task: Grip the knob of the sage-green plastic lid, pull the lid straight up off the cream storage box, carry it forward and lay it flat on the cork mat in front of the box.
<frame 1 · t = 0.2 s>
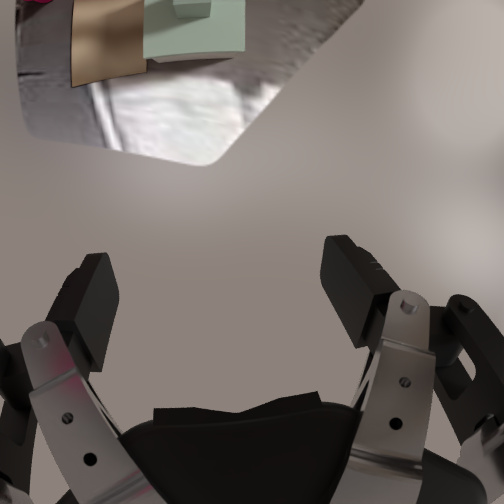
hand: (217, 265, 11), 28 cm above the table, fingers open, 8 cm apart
cork mat: (108, 32, 25), on the table
storage box: (195, 23, 27), on the table
lid: (194, 10, 22), point 6 cm above the table, touching storage box
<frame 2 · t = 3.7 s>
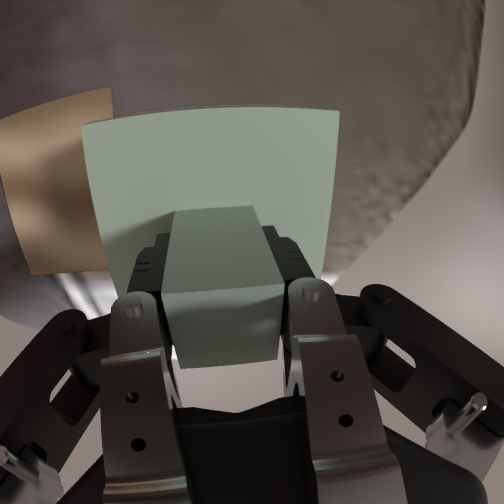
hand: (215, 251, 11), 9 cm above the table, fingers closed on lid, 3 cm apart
cork mat: (58, 192, 17), on the table
lid: (213, 219, 14), point 6 cm above the table, touching gripper, storage box
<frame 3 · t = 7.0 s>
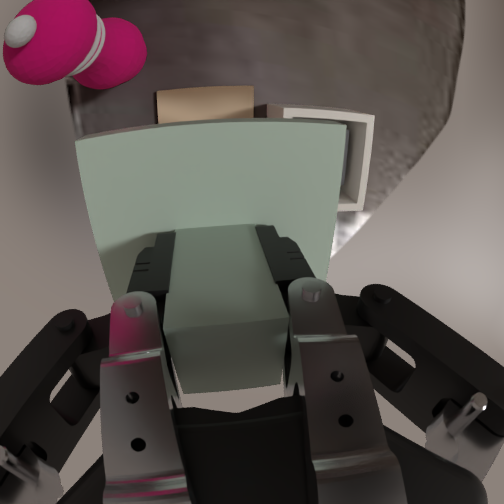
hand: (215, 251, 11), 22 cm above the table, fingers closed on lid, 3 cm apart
pepper mill: (119, 57, 23), on the table
cork mat: (206, 145, 30), on the table
storage box: (304, 147, 32), on the table
lid: (214, 233, 14), point 20 cm above the table, touching gripper
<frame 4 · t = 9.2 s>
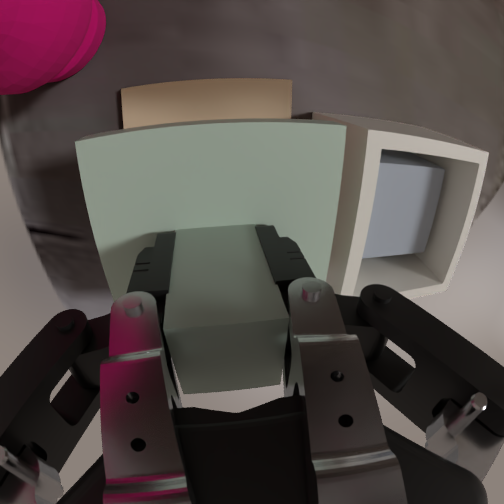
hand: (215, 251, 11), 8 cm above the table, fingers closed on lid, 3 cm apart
pepper mill: (63, 36, 11), on the table
cork mat: (209, 181, 18), on the table
storage box: (365, 185, 20), on the table
lid: (214, 234, 14), point 6 cm above the table, touching gripper
when the fingers open (5 cm above the table, at t = 10.7 s): lid drops 2 cm, resting on cork mat.
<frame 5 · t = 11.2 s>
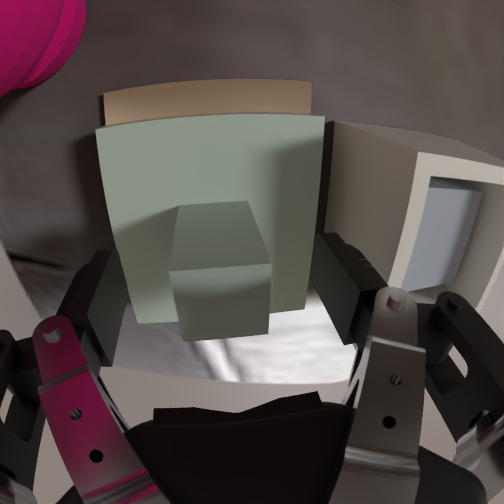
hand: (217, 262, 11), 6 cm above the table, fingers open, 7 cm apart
pepper mill: (38, 33, 9), on the table
cork mat: (211, 204, 15), on the table
storage box: (389, 205, 17), on the table
lid: (213, 213, 15), resting on cork mat
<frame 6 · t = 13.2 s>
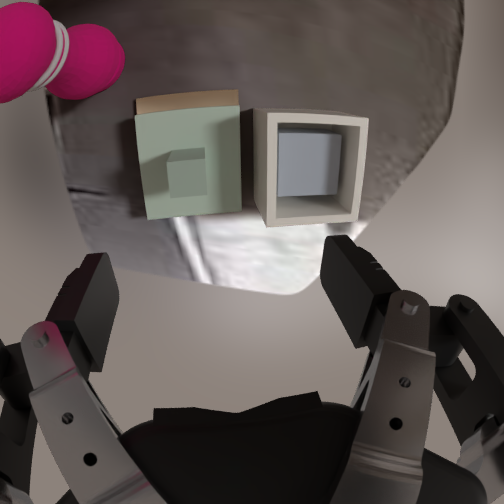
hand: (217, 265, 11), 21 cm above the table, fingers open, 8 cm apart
pepper mill: (97, 64, 22), on the table
cork mat: (189, 154, 28), on the table
storage box: (295, 154, 30), on the table
lid: (190, 159, 28), resting on cork mat
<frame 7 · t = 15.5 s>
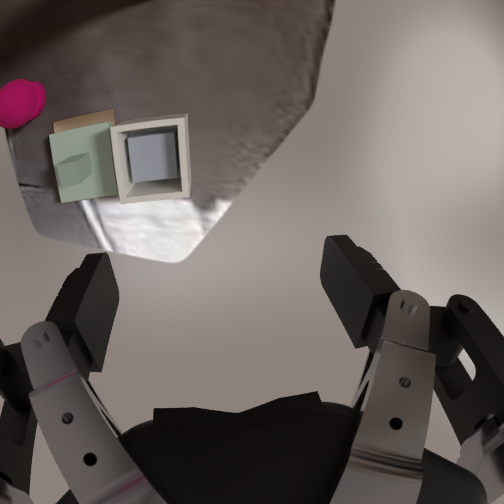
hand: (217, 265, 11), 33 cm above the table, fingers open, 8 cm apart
pepper mill: (31, 100, 30), on the table
cork mat: (87, 157, 37), on the table
storage box: (157, 150, 39), on the table
lid: (87, 160, 37), resting on cork mat
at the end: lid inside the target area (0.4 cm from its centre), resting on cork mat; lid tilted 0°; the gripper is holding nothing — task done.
